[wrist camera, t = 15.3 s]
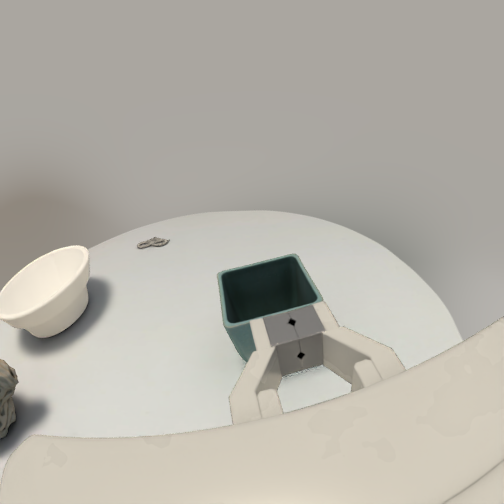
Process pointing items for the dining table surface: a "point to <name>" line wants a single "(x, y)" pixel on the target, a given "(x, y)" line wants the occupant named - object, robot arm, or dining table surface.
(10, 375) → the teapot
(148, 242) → the charm
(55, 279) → the bowl
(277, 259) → the flower pot
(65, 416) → the dining table surface
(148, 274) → the dining table surface
